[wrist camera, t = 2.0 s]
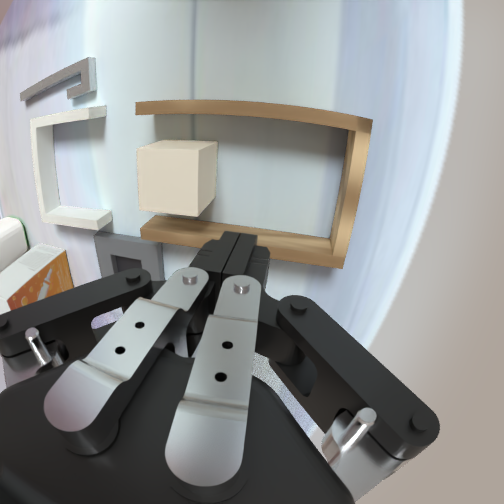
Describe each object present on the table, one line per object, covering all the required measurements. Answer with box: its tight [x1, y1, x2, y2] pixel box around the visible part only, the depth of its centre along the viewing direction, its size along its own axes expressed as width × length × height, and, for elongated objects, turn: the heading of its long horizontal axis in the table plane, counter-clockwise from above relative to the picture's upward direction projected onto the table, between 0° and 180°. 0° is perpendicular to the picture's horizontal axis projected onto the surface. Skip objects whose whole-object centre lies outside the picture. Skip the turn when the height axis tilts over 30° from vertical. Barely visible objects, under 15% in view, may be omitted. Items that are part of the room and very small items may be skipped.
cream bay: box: [30, 106, 112, 230], centre depth 27 cm, size 13×10×3 cm
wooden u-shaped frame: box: [135, 100, 373, 269], centre depth 25 cm, size 13×20×4 cm
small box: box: [0, 243, 74, 315], centre depth 32 cm, size 8×6×13 cm
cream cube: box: [137, 140, 218, 217], centre depth 25 cm, size 6×6×6 cm
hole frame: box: [93, 231, 165, 281], centre depth 34 cm, size 9×9×1 cm
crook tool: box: [20, 57, 97, 101], centre depth 24 cm, size 4×13×1 cm, turn 94°
